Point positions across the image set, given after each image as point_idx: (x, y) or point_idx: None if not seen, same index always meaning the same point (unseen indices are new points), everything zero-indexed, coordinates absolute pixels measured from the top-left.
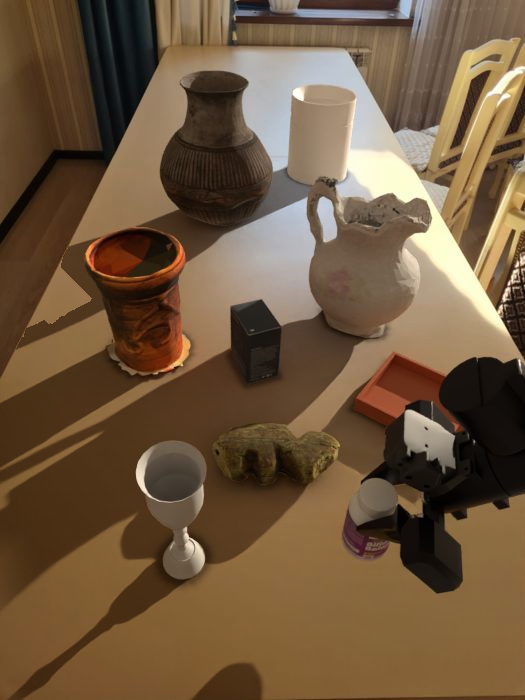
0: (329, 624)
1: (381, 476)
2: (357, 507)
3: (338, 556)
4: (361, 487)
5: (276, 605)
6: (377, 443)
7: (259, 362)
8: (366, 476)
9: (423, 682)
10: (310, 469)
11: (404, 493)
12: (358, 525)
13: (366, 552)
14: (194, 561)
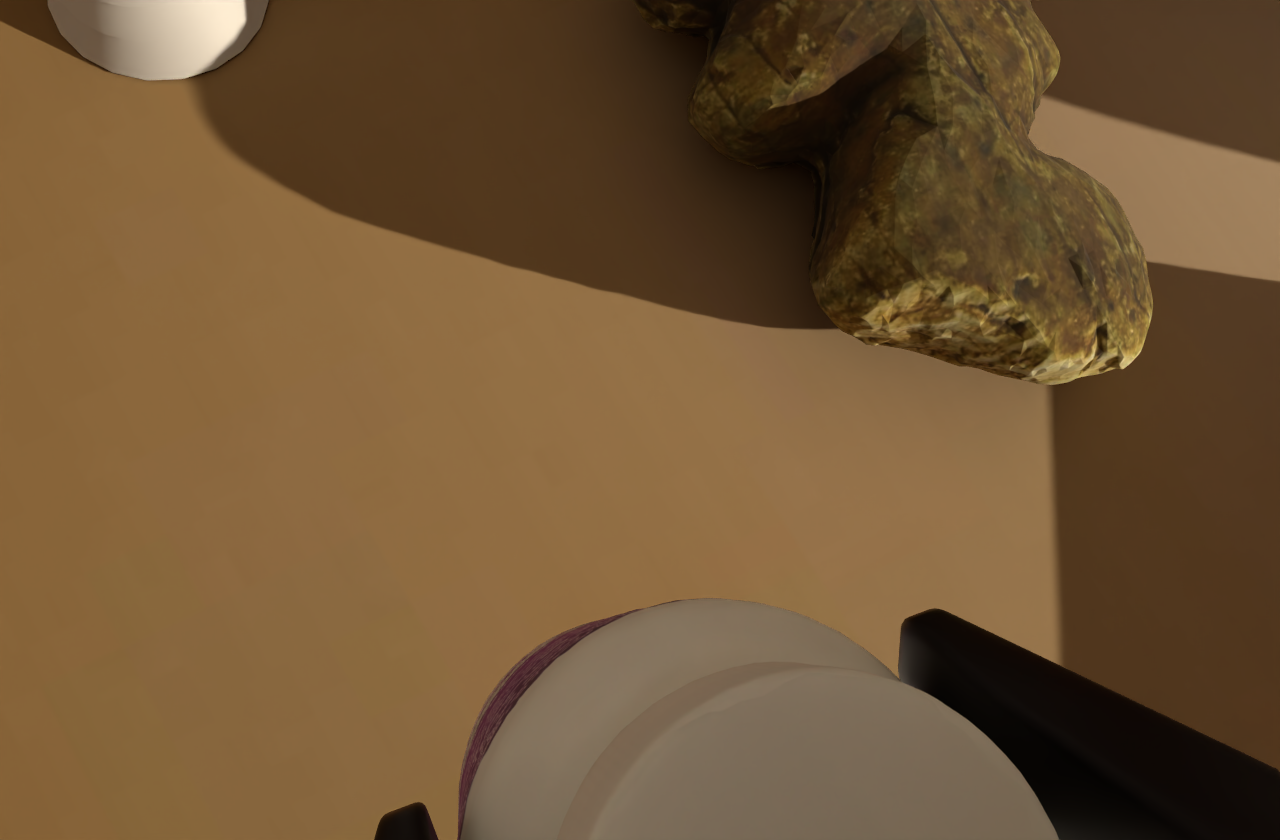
0: (182, 770)
1: (1103, 825)
2: (611, 722)
3: None
4: (797, 691)
5: (148, 478)
6: (1260, 542)
7: None
8: (1006, 643)
9: None
10: (892, 274)
11: None
12: (422, 828)
13: None
14: (119, 10)
